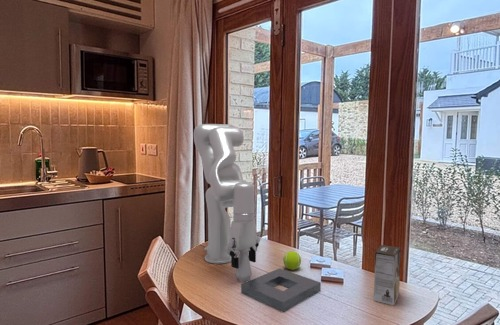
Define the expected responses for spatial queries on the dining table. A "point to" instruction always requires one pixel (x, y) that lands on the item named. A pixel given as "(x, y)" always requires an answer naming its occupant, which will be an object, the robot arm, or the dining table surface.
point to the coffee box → (387, 274)
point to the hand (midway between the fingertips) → (243, 264)
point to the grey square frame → (276, 298)
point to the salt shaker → (243, 266)
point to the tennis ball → (292, 260)
